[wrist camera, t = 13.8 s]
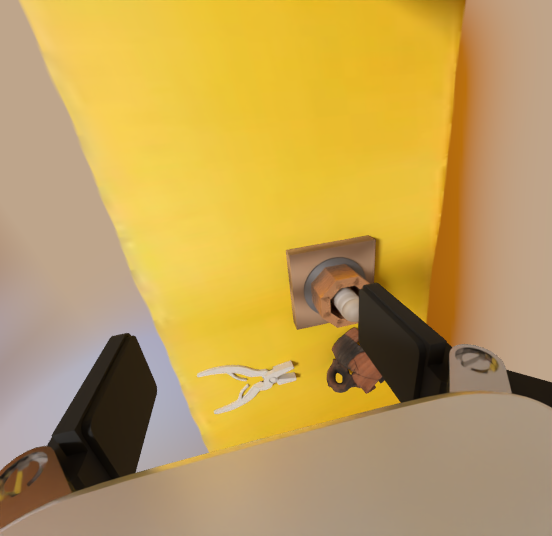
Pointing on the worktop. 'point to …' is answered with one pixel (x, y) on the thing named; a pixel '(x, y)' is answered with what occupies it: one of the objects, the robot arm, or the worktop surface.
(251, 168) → the worktop surface
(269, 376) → the pliers
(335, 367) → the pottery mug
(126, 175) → the worktop surface
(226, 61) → the worktop surface
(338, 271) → the ring
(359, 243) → the shaft block
